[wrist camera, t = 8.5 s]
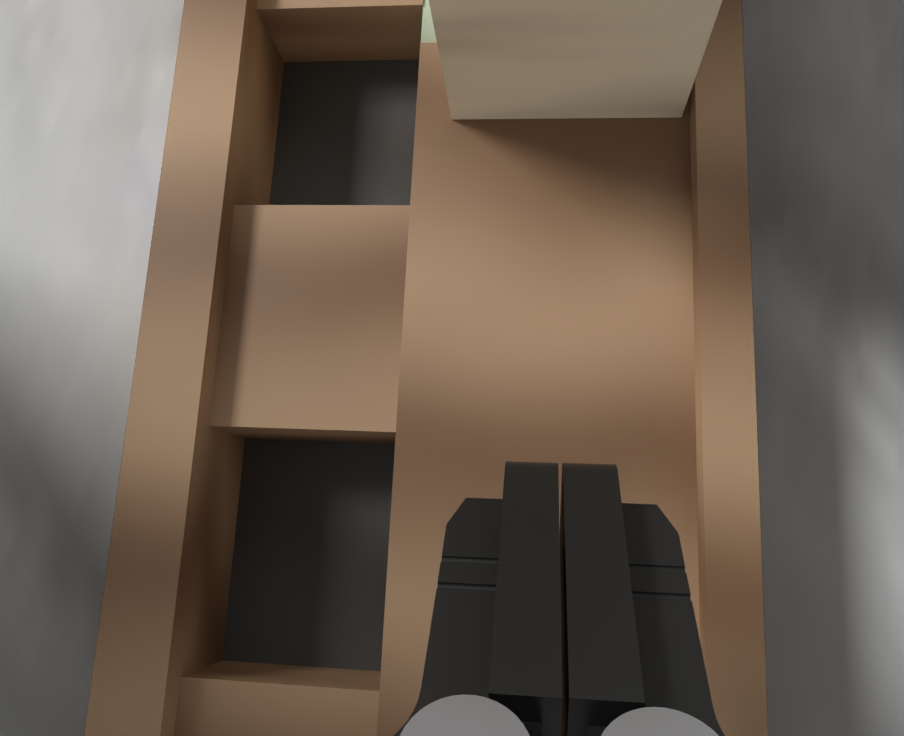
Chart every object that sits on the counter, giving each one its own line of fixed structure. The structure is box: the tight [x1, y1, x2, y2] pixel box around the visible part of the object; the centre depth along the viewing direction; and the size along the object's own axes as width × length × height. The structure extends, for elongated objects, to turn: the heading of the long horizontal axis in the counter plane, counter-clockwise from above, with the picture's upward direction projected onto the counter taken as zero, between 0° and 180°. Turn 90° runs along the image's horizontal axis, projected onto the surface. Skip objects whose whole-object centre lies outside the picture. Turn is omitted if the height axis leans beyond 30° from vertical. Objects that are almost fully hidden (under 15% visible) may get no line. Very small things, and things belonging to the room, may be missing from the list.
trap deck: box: [84, 0, 768, 736], centre depth 16 cm, size 30×12×6 cm, turn 177°
